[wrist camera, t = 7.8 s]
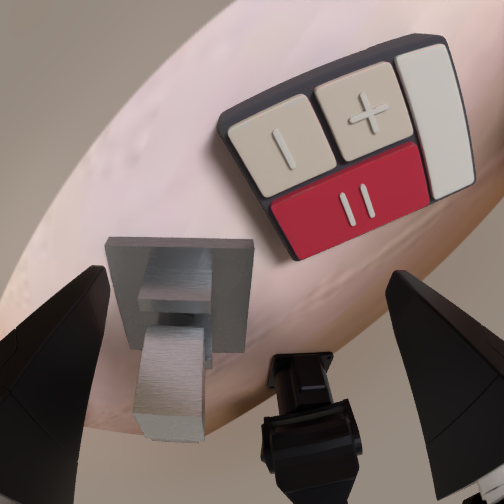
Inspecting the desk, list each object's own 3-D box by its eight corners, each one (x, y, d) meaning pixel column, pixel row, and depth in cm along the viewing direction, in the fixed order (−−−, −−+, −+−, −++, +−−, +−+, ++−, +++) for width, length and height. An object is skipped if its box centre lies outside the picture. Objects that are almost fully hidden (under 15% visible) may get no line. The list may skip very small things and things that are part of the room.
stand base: (243, 343, 31) (246, 388, 27) (132, 339, 30) (123, 383, 26) (253, 239, 24) (259, 287, 20) (108, 236, 23) (87, 282, 19)
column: (205, 363, 25) (204, 443, 19) (155, 361, 24) (146, 439, 19) (203, 326, 22) (201, 417, 16) (147, 324, 22) (132, 412, 16)
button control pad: (211, 129, 16) (452, 34, 12) (217, 112, 20) (417, 31, 16) (295, 271, 22) (483, 188, 18) (288, 235, 26) (453, 164, 22)
